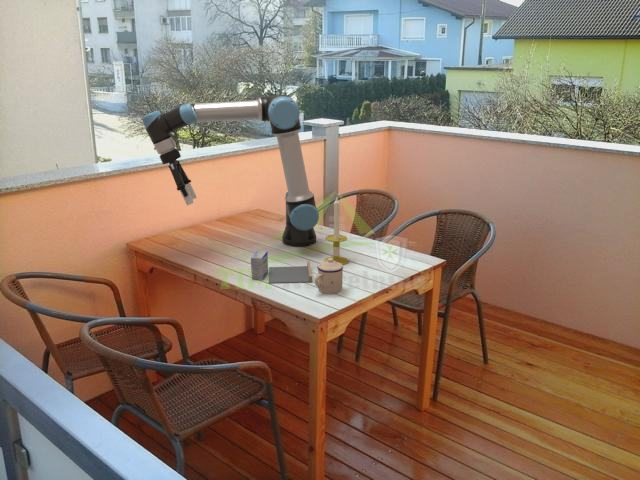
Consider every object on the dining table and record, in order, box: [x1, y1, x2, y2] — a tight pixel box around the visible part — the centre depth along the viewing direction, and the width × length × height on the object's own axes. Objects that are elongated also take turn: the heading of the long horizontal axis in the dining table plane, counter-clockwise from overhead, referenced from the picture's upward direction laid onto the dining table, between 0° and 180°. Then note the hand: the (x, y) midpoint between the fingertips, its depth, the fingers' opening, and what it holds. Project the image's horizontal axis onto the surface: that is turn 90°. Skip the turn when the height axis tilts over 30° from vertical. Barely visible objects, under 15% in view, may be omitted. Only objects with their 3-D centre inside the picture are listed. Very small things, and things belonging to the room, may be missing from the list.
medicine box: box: [250, 250, 269, 281], centre depth 222 cm, size 8×4×9 cm, turn 170°
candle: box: [323, 197, 349, 266], centre depth 235 cm, size 10×10×27 cm
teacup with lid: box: [314, 257, 344, 295], centre depth 208 cm, size 12×9×12 cm
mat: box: [268, 260, 313, 285], centre depth 224 cm, size 16×16×2 cm
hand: (192, 201), depth 233 cm, fingers open, 13 cm apart
